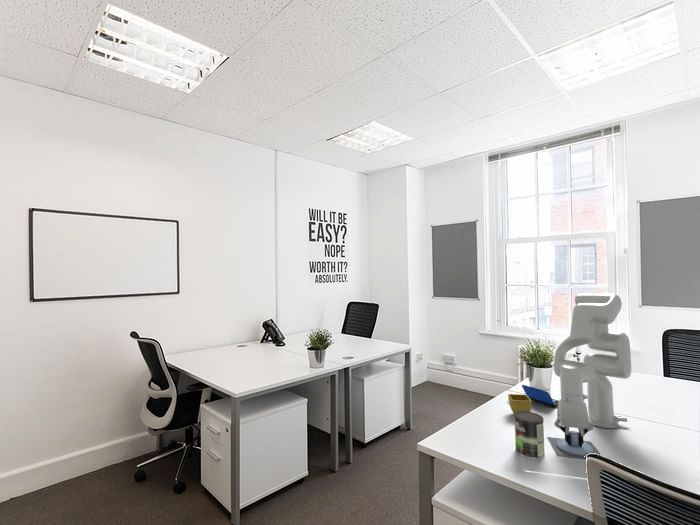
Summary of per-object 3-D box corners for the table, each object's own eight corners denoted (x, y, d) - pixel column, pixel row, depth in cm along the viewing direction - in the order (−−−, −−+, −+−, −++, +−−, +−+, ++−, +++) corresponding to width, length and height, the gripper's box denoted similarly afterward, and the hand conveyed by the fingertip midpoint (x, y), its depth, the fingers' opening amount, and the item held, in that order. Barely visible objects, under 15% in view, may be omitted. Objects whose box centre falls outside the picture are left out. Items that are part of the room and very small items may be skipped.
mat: (590, 442, 142) (590, 441, 142) (606, 462, 127) (606, 461, 127) (546, 437, 147) (546, 436, 147) (557, 457, 132) (556, 456, 132)
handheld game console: (565, 405, 182) (564, 387, 182) (549, 410, 176) (548, 392, 176) (537, 396, 196) (536, 380, 196) (521, 401, 190) (520, 383, 190)
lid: (586, 443, 141) (585, 427, 141) (598, 458, 129) (597, 441, 130) (553, 439, 144) (552, 424, 145) (561, 454, 133) (560, 437, 133)
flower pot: (532, 420, 165) (531, 400, 165) (513, 419, 167) (512, 400, 167) (527, 412, 173) (526, 394, 174) (508, 411, 175) (507, 393, 175)
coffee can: (525, 460, 130) (523, 422, 130) (510, 447, 140) (508, 411, 141) (551, 458, 131) (549, 420, 131) (534, 445, 141) (533, 410, 141)
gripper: (592, 395, 139) (595, 442, 138) (546, 392, 144) (548, 437, 143) (599, 402, 132) (602, 451, 131) (550, 398, 137) (553, 446, 136)
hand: (574, 444), depth 137 cm, fingers open, 3 cm apart
